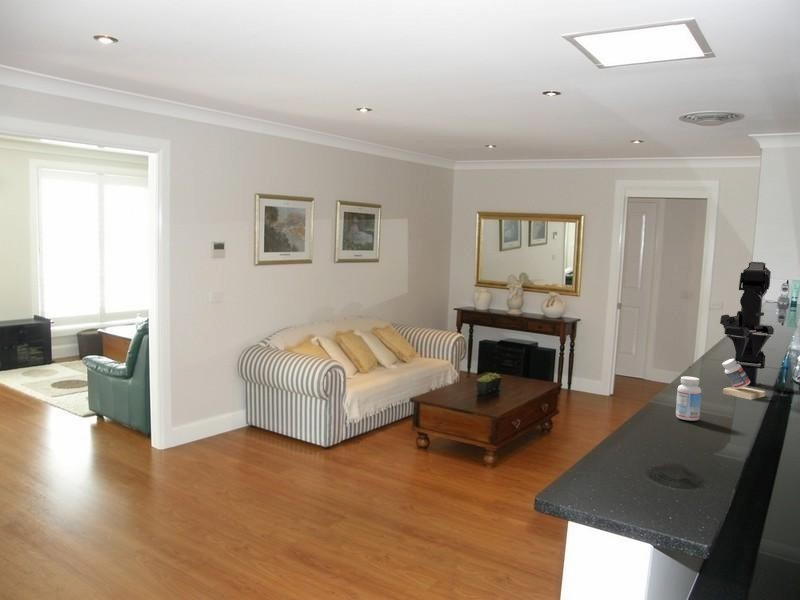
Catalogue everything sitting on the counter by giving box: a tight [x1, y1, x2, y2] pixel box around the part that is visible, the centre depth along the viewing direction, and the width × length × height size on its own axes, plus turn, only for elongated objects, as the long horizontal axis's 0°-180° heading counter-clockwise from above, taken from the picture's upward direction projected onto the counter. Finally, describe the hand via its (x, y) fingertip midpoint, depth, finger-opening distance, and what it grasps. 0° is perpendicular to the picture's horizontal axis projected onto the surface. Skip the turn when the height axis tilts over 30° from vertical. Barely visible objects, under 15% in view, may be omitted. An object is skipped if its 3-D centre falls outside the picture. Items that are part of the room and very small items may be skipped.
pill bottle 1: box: [675, 375, 702, 422], centre depth 175 cm, size 6×6×11 cm
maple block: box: [722, 386, 766, 401], centre depth 206 cm, size 9×9×2 cm
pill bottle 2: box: [721, 358, 750, 389], centre depth 207 cm, size 5×5×9 cm
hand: (747, 356), depth 205 cm, fingers open, 9 cm apart
